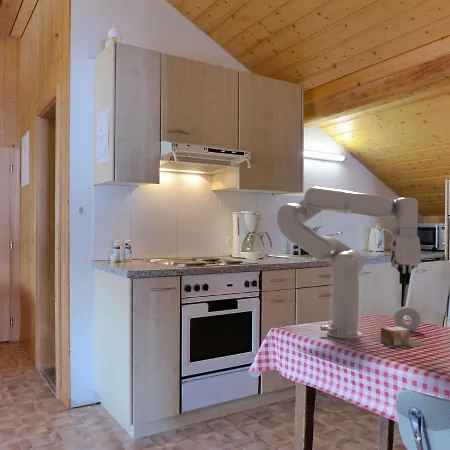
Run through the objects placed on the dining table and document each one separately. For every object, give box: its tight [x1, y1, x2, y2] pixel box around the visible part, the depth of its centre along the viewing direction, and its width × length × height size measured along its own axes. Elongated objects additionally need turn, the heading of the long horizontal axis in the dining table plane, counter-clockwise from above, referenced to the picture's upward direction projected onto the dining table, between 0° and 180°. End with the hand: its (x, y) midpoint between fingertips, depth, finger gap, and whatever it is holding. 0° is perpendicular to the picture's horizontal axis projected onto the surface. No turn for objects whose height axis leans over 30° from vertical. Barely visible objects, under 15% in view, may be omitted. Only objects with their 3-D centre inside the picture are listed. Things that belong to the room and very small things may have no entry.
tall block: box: [380, 326, 410, 346], centre depth 159 cm, size 5×5×8 cm
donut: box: [393, 306, 422, 333], centre depth 179 cm, size 10×4×10 cm, turn 73°
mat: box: [372, 337, 427, 348], centre depth 161 cm, size 14×12×1 cm
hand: (404, 284), depth 160 cm, fingers closed
